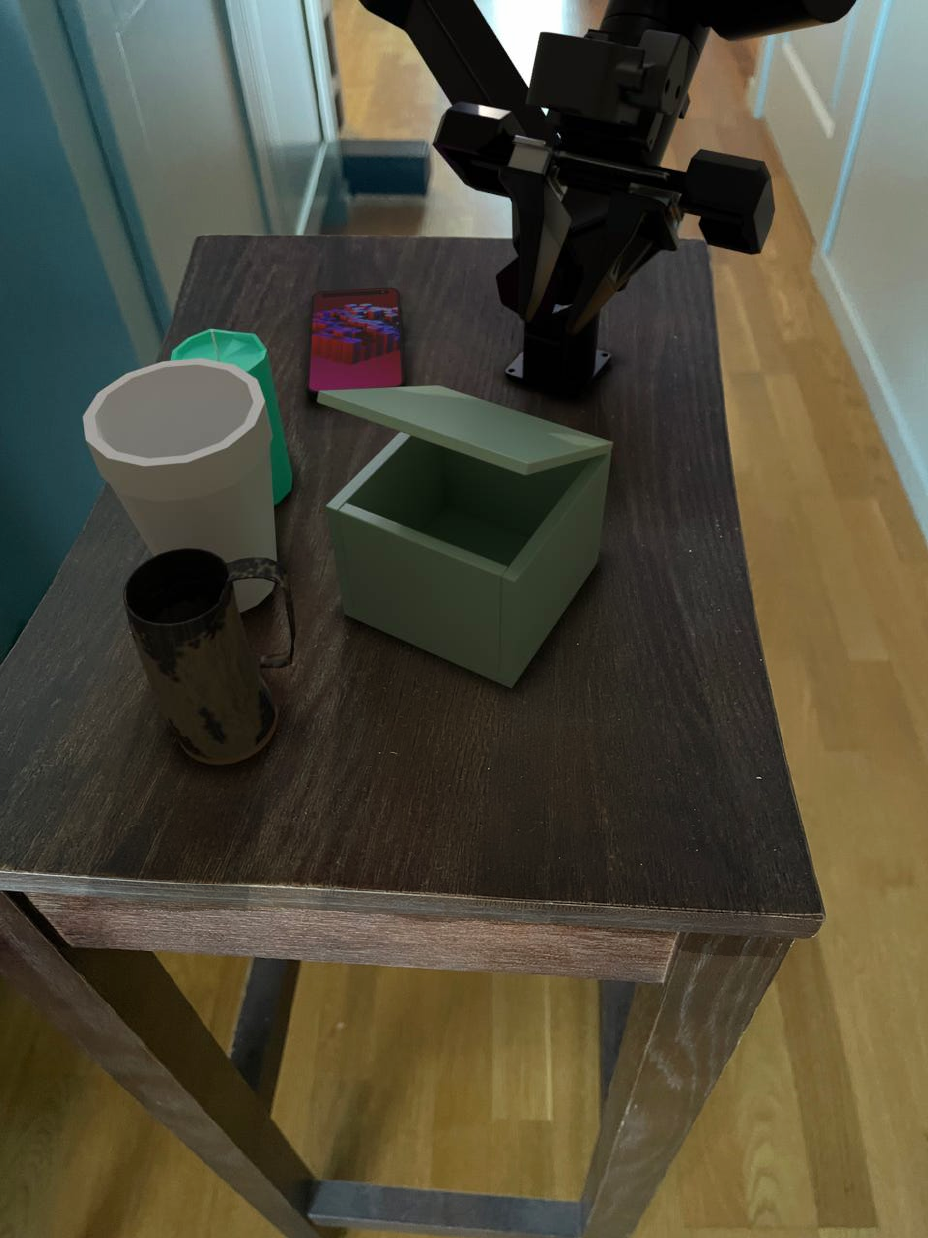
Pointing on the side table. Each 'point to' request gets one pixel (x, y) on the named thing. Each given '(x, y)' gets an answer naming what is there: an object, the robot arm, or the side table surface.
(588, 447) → the bin lid
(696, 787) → the side table surface
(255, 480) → the foam cup
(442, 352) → the side table surface
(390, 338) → the smartphone
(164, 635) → the mug
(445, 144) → the robot arm
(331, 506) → the green bin
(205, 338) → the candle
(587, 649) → the side table surface
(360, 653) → the side table surface
